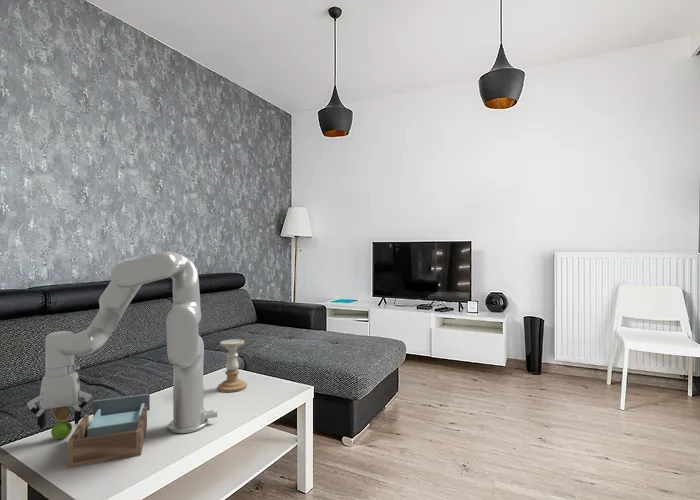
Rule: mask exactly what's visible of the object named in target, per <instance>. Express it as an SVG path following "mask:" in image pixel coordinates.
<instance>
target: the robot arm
mask: <svg viewBox="0 0 700 500" xmlns="http://www.w3.org/2000/svg"><path fill="white" fill-rule="evenodd" d="M167 278H171V279H172V298H173V299H172V300H173V301H172V304H173V305H172V308H171V309H170V310H169V312H168V314H167V317H166V324H165V325H166V353H167V357H168V358H167V359H168V361H169V363H170V364H171V365H172V366H173V371H172V372H173V374H172V375H173V376H172V377H173V379H172V380H173V382H172V384H173V385H172V390H173V391H172V392H173V393H172V395H173V396H172V401H173V403H172V404H173V405H172V412H173V413H172V414H173V416H172V421H170V422H169V423H168V425H167V427H168V429H167V430H169V431H170V432H171V433H174V434H175V433H176V434H186V433H187V434H188V433H193V432H196V431H199V430H202V429H203V428H205V427H206V426H207V425H208V424H209V419H215V418H218V411H214V410H213V409H211V410H205V407H204V356H205V344H204V340H203V338H202V337H201V335H200V334H199V323H200V321H201V320H202V310H201V309H202V308H201V292H200V280H199V274H198V270H197V268H196V265H195V264H194V263H193V262H192V261H191V259H189V258H188V257H186V256H184V254H183V255H182V254H180V253H179V252H178V253H177V252H175V251H160V252H156V253H152V254H148V255H143V256H141V257H138V258H133V259H129V260H124V261H121V262H118V263H117V264H116V265H115V266H114V267H113V268H112V270H111V272H110V279H111V281H110V282H109V284H108V285H107V287H106V288H105V289H104V291H102V294H101V295H100V297H99V299H98V305H99V309H98V312H97V314H96V315H95V317H94V319H93V320H92V321H91V323H90V325H89V326H88V327H87V328H86V329H84V330H81V331H79V332H76V333H74V332H73V331H70V330H69V331H68V330H63V331H61V330H60V331H54V332H50V333H47V335H46V336H45V356H44V357H45V358H44V359H45V365H44V367H45V370H44V371H45V373H44V375H43V377H42V380H41V385H40V391H39V392H40V393H39V395H38V396H36V397H35V398H33V399H31V400H29V401H28V402H27V403H26V407H27V408H28V409H29V410H30V412H31V413H32V414H34V415H35V416H36V417H37V426H38V427H39V430H43V429H44V428H45V426H46V412H45V411H46V410H49V409H50V410H51V409H52V408H55V409H57V408H60V407H68V408H69V407H72V408H73V409H74V410H75V411H74V424H75V425H79V423H80V421H81V420H82V409H84V407H86V405H88V403H89V402H90V400H91V398H92V396H93V395H92V394H91V393H88V392H86V391H85V392H84V391H82V390H81V386H80V378H79V374H78V372H77V370H80V368H81V367H80V365H77V364H76V363H75V356H77V357H84V356H88V355H90V354H92V353H94V352H95V351H97V350H98V349H100V348H101V347H103V346H104V345H105V344H106V342H108V340H109V339H110V337H111V335H112V334H113V333H114V331H115V330H116V328H117V326H118V325H119V323H120V321H121V319H122V318H123V316H124V314H125V311H126V309H127V308H128V307H129V305H130V304H131V302H132V300H133V299H134V298H135V296H136V294H137V293H138V291H140V288H141V287H142V286H143V285H146V284H149V283H153V282H157V281H159V280H163V279H167ZM81 398H84V400H83V402H80V401H79V400H81ZM37 402H38V403H39V404H38V405H39V407H37V406H36V403H37Z"/></svg>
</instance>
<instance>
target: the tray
mask: <svg viewBox="0 0 700 500" xmlns="http://www.w3.org/2000/svg"><path fill="white" fill-rule="evenodd" d="M150 397H151V396H150V393H144V394H136V395H135V394H134V395H130V396H129V395H128V396H120V397H111V398H104V399H96V400H93V417H92V420H91V421H90V422H89V427H88V428H87V438H88V437H94V436H101V435H107V434H114V433H120V432H127V431H133V430H137V427H138V424H139V420H140V416H141V413H142V409H143V407H147V412H149V411H150V408H151V407H150V405H151V404H150V403H151V402H150V401H151V399H150Z"/></svg>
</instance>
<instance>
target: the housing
mask: <svg viewBox="0 0 700 500" xmlns="http://www.w3.org/2000/svg"><path fill="white" fill-rule="evenodd" d="M89 425H90V414H85V415H83V417H81V420H80V421H79V422H78V424H77V426H76V428H75V429H74V431H73V433H72V435H71V436H70V438H69V439H68V441H67V468H69V469H70V468H73V467H80V466H85V465H90V464H92V465H93V464H96V463H101V462H103V463H104V462H109V461H114V460H119V459H125V458H132V457H137V456H142V452H143V448H144V442H145V439H146V438H145V437H146V432H147V429H148V411H147V407H143V409H142V413H141V416H140V420H139V424H138V427H137V430H133V431H127V432H120V433H114V434H107V435H101V436H94V437H88V438H87V428H88V427H89Z"/></svg>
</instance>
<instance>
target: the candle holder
mask: <svg viewBox="0 0 700 500" xmlns="http://www.w3.org/2000/svg"><path fill="white" fill-rule="evenodd" d="M244 344H245V340H243V339H240V338H239V339H237V338H235V339H234V338H233V339H224V340H221V341H220V342H219V345H220V346H221V347H223V348H224V347H225V349H227V351H228V352H227V353H226V355H225V356H226V358H227V361H226V364H225V369H226V371H225V375H226V380H223V381H222V382H220V383H219V384H218V386H217V390H218V391H219V392H221V393H235V392H236V391H237V392H240V390H241V391H243V390H246V388H247V386H248V384H247V382H246V381H244V380H242V379H241V378H239V377H238V375H239V373H240V370H239V366H240V365H239V361H238V356H239V353H238V352H237V349H238V348H239V347H241V346H242V345H244Z"/></svg>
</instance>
